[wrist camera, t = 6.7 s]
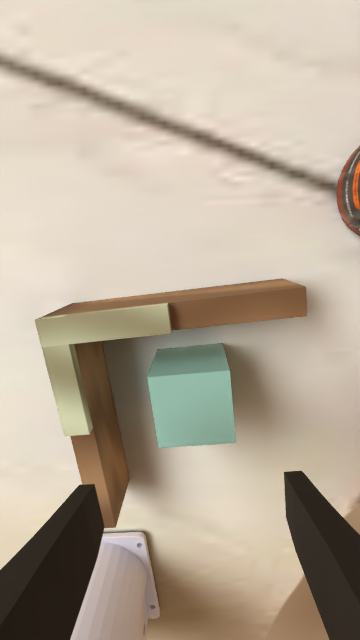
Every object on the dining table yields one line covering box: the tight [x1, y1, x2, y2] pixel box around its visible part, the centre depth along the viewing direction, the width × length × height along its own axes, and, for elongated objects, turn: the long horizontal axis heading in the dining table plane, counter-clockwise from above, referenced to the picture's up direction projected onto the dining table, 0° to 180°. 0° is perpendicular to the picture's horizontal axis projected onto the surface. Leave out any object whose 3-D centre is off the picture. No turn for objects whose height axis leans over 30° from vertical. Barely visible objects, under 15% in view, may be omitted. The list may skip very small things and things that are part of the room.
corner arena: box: [35, 279, 307, 528], centre depth 18 cm, size 14×14×5 cm
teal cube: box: [147, 343, 236, 448], centre depth 18 cm, size 4×4×4 cm
